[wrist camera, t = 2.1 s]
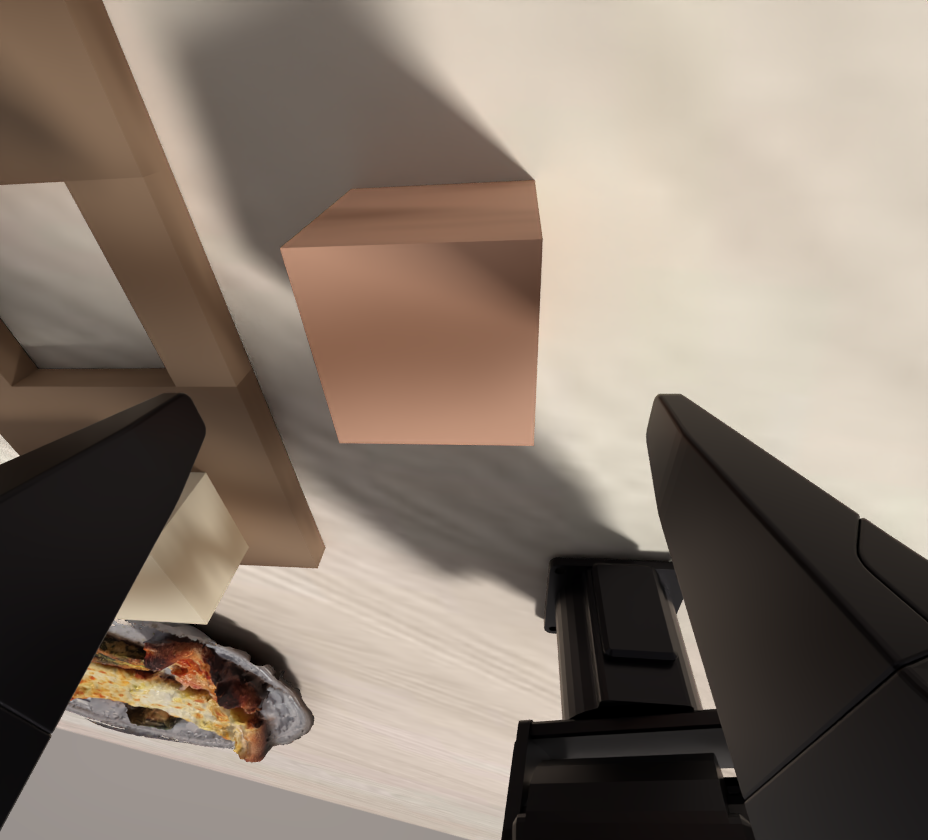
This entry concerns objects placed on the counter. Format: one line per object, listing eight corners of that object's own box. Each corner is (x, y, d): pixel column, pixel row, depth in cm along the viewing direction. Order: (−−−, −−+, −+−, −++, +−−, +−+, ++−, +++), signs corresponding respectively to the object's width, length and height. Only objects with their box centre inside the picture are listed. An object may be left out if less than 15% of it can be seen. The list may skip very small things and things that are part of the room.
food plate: (355, 654, 31) (338, 713, 28) (289, 742, 45) (274, 787, 42) (-56, 520, 26) (-125, 575, 24) (15, 664, 40) (-23, 708, 38)
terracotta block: (529, 345, 15) (533, 445, 11) (383, 347, 16) (339, 443, 12) (534, 179, 12) (542, 238, 8) (352, 188, 13) (279, 248, 9)
